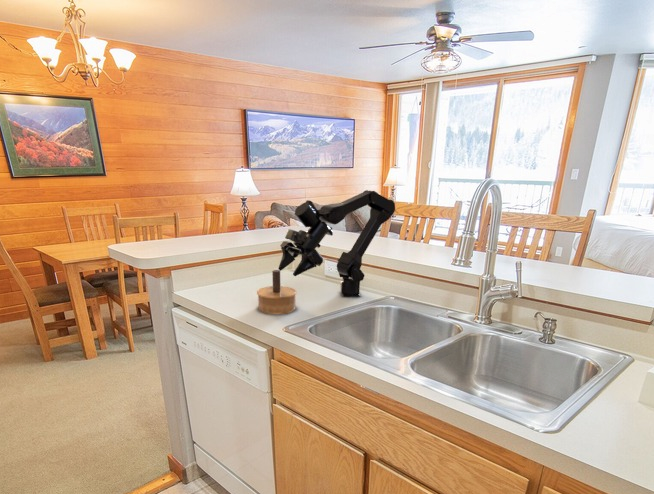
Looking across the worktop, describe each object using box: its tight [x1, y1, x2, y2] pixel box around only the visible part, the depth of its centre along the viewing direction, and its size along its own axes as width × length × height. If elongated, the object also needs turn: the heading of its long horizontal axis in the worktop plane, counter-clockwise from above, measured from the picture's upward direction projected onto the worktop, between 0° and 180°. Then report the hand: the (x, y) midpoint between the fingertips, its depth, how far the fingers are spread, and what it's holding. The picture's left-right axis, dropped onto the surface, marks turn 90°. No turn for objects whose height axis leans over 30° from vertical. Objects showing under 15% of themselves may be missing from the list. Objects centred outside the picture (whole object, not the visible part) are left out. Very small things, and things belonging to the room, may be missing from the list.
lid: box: [256, 269, 297, 299], centre depth 146 cm, size 13×13×8 cm
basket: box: [257, 295, 296, 315], centre depth 149 cm, size 12×12×6 cm
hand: (286, 272), depth 147 cm, fingers open, 9 cm apart
